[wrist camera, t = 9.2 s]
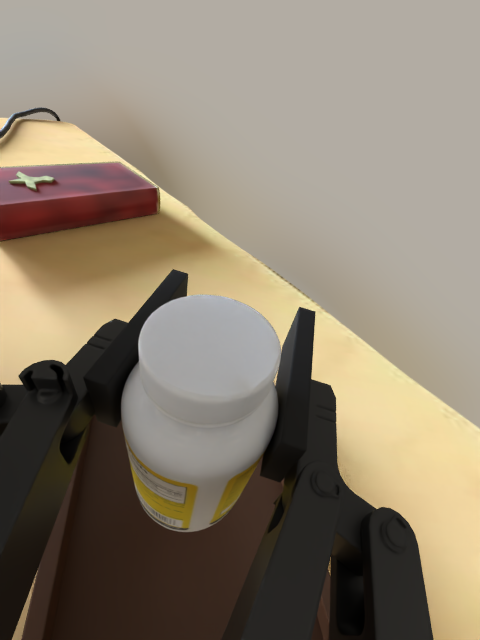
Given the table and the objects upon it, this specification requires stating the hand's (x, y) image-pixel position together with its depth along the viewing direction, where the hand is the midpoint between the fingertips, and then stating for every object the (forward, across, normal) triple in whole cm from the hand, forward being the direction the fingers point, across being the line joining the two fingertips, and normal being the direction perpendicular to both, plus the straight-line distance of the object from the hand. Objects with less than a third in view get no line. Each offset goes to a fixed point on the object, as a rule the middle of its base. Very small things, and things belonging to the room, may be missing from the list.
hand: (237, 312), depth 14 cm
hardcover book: (+24, -29, -11) cm, 39 cm away
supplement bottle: (-5, 0, -7) cm, 8 cm away
